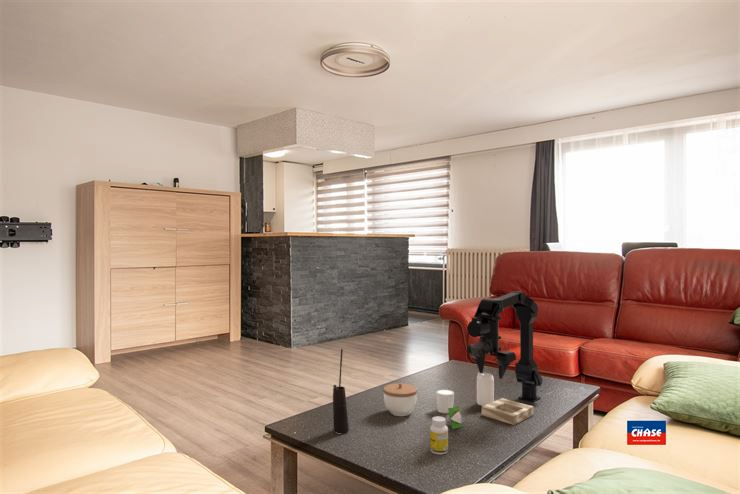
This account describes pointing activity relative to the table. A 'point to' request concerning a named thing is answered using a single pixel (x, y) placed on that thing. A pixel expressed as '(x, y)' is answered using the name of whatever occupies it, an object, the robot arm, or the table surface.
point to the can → (485, 388)
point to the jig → (507, 411)
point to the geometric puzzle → (455, 417)
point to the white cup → (444, 400)
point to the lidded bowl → (400, 398)
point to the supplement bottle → (439, 436)
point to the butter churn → (340, 406)
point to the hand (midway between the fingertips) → (490, 375)
